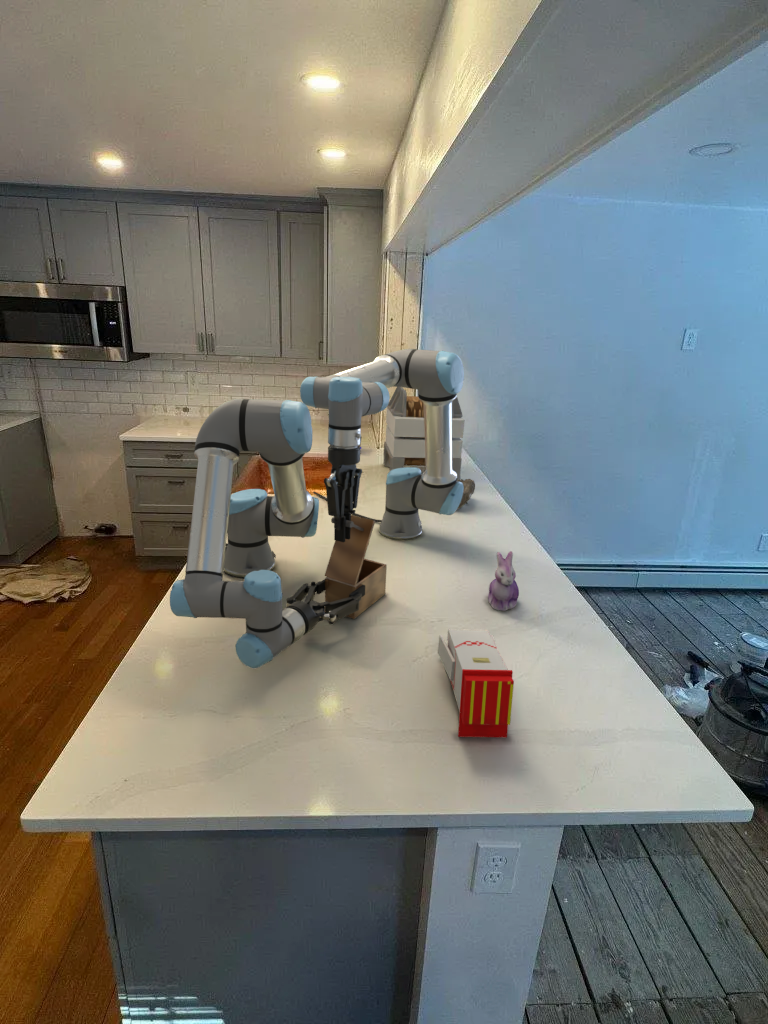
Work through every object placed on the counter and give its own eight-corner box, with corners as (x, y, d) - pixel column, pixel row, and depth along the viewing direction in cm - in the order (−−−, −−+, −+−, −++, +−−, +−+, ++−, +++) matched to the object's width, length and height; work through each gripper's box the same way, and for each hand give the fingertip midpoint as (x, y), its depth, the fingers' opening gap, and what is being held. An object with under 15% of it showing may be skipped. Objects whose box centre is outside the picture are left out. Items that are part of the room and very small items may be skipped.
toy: (488, 613, 130) (523, 677, 101) (484, 667, 133) (517, 744, 104) (435, 612, 130) (455, 676, 101) (432, 666, 133) (451, 743, 103)
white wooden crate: (382, 463, 289) (386, 382, 275) (445, 464, 293) (451, 384, 279) (390, 482, 257) (394, 392, 243) (460, 483, 261) (468, 394, 247)
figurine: (500, 615, 149) (507, 563, 144) (477, 598, 157) (483, 548, 152) (528, 608, 153) (536, 557, 148) (504, 591, 161) (510, 543, 156)
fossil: (439, 484, 243) (468, 465, 238) (451, 501, 246) (481, 483, 241) (438, 506, 224) (470, 486, 219) (452, 524, 226) (484, 505, 221)
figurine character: (361, 457, 304) (361, 447, 317) (361, 444, 301) (362, 434, 314) (348, 456, 304) (349, 447, 317) (348, 443, 300) (349, 434, 314)
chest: (357, 585, 162) (358, 556, 158) (385, 594, 157) (386, 564, 154) (324, 609, 148) (325, 578, 145) (354, 619, 144) (355, 587, 141)
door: (345, 514, 148) (329, 506, 140) (375, 521, 143) (360, 513, 136) (326, 576, 145) (308, 571, 138) (356, 585, 141) (339, 581, 134)
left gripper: (257, 622, 135) (313, 586, 153) (333, 651, 125) (383, 609, 143) (256, 594, 132) (313, 561, 151) (333, 621, 122) (385, 582, 141)
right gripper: (340, 453, 124) (338, 552, 132) (374, 442, 136) (370, 533, 144) (312, 448, 127) (312, 545, 135) (347, 438, 139) (345, 527, 147)
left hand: (347, 584), depth 147 cm, fingers closed on chest, 9 cm apart
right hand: (342, 539), depth 140 cm, fingers closed on door, 2 cm apart
